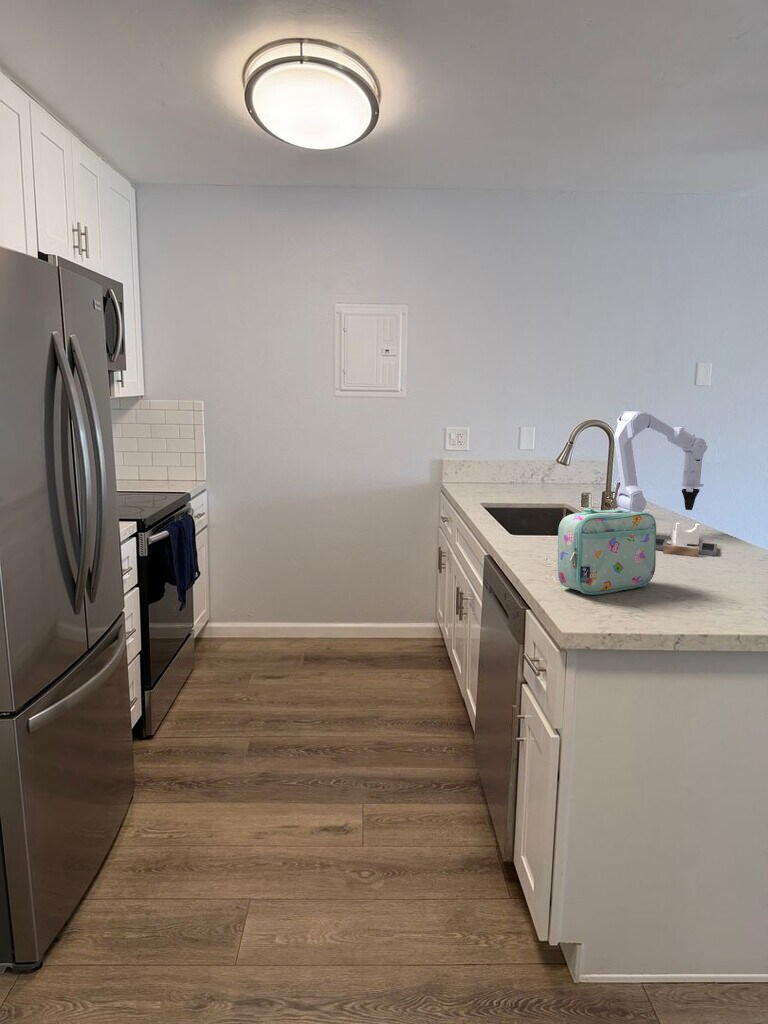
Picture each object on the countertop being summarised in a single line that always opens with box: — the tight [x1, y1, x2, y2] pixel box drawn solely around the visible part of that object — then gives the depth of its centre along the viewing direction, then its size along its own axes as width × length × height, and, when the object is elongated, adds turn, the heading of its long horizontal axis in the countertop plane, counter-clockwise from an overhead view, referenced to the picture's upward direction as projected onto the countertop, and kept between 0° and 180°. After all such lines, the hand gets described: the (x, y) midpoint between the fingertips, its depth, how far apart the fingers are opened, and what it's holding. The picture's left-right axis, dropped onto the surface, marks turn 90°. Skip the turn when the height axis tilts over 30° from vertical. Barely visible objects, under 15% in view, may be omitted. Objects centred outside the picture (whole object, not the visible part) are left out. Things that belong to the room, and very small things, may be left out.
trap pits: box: [656, 537, 718, 557], centre depth 218 cm, size 20×12×2 cm, turn 63°
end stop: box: [662, 544, 699, 558], centre depth 210 cm, size 10×2×2 cm, turn 63°
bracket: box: [669, 522, 701, 547], centre depth 228 cm, size 13×7×8 cm, turn 164°
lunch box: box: [557, 507, 657, 596], centre depth 172 cm, size 27×10×21 cm, turn 114°
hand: (688, 509), depth 238 cm, fingers closed
